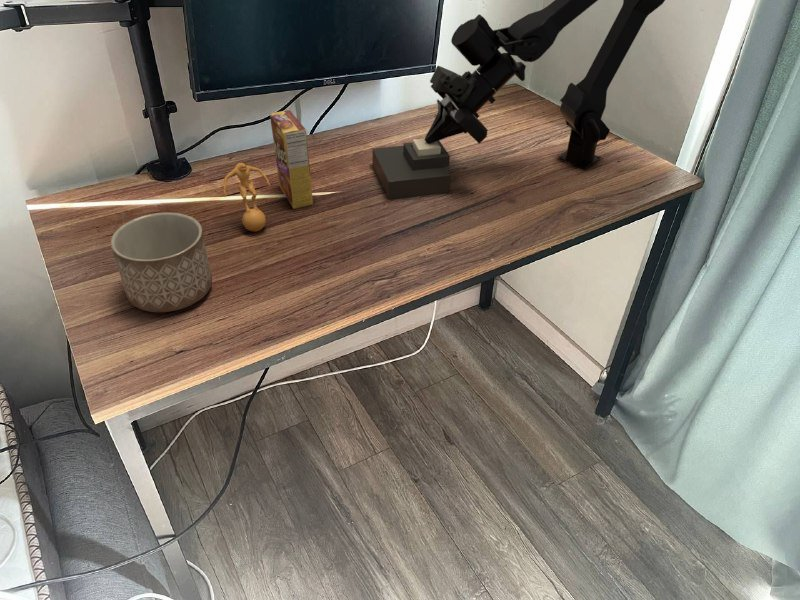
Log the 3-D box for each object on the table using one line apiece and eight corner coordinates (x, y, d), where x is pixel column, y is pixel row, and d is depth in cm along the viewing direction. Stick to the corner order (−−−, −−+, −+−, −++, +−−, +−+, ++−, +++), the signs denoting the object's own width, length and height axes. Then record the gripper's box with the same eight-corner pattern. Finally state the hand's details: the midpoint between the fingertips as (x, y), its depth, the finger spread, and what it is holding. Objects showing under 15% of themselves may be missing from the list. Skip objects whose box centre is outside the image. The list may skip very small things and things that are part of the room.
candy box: (277, 187, 127) (268, 112, 118) (298, 183, 129) (292, 108, 119) (291, 210, 121) (283, 132, 112) (313, 205, 123) (307, 128, 113)
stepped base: (432, 159, 138) (434, 132, 134) (453, 192, 127) (455, 164, 123) (372, 165, 135) (372, 138, 131) (388, 199, 125) (388, 171, 121)
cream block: (433, 149, 131) (434, 137, 129) (440, 159, 128) (440, 147, 126) (412, 151, 130) (412, 139, 128) (418, 161, 127) (418, 149, 125)
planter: (179, 327, 96) (164, 269, 89) (110, 304, 99) (90, 247, 93) (229, 279, 105) (219, 223, 98) (164, 259, 108) (150, 205, 102)
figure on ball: (236, 241, 113) (226, 179, 105) (224, 225, 117) (213, 163, 109) (281, 228, 116) (274, 167, 109) (268, 212, 120) (261, 152, 113)
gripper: (443, 35, 125) (386, 96, 129) (476, 70, 111) (411, 137, 115) (479, 74, 131) (423, 131, 136) (514, 111, 117) (451, 173, 122)
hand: (426, 141), depth 127 cm, fingers closed, pressing on cream block
